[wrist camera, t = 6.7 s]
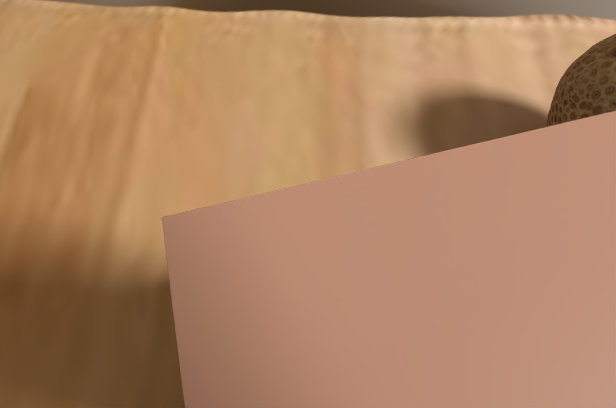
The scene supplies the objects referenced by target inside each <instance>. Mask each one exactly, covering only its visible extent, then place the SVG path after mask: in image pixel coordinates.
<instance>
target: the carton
mask: <svg viewBox="0 0 616 408" xmlns="http://www.w3.org/2000/svg"><path fill="white" fill-rule="evenodd" d="M162 224H163V232H164V241H165V249H166V257H167V265H168V274H169V282H170V290H171V298H172V307H173V315H174V323H175V332H176V340H177V348H178V356H179V365H180V373H181V381H182V389H183V398H184V406H185V408H616V111H613V112H608V113H604V114H600V115H596V116H591V117H587V118H583V119H579V120H574V121H570V122H566V123H561V124H557V125H553V126H549V127H544V128H540V129H536V130H532V131H527V132H523V133H519V134H515V135H510V136H506V137H502V138H498V139H493V140H489V141H485V142H480V143H476V144H472V145H468V146H463V147H459V148H455V149H451V150H446V151H442V152H438V153H434V154H429V155H425V156H421V157H416V158H412V159H408V160H404V161H399V162H395V163H391V164H387V165H382V166H378V167H374V168H370V169H365V170H361V171H357V172H353V173H348V174H344V175H340V176H335V177H331V178H327V179H323V180H318V181H314V182H310V183H306V184H301V185H297V186H293V187H289V188H284V189H280V190H276V191H272V192H267V193H263V194H259V195H254V196H250V197H246V198H242V199H237V200H233V201H229V202H225V203H220V204H216V205H212V206H208V207H203V208H199V209H195V210H191V211H186V212H182V213H178V214H173V215H169V216H165V217H162Z"/></svg>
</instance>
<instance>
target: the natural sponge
mask: <svg viewBox="0 0 616 408" xmlns="http://www.w3.org/2000/svg"><path fill="white" fill-rule="evenodd" d="M613 111H616V34H614V35H612V36H610V37H608V38H606V39H604V40H602V41H600V42H599V43H597V44H595V45H593V46H592V47H591V48H590V49H589V50H587V51H586V52H585V53H584V54H583V55H581V56H580V57H579V58H578V59H576V60H575V61H574V62H573V63H572V64H571V65H570V67H569V68H568V69H567V70H566V72H565V73H564V75H563V76H562V78H561V79H560V81H559V83H558V86H557V88H556V91H555V94H554V97H553V100H552V104H551V107H550V111H549V114H548V124H547V127H549V126H553V125H557V124H561V123H566V122H570V121H574V120H579V119H583V118H587V117H591V116H596V115H600V114H604V113H608V112H613Z"/></svg>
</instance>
